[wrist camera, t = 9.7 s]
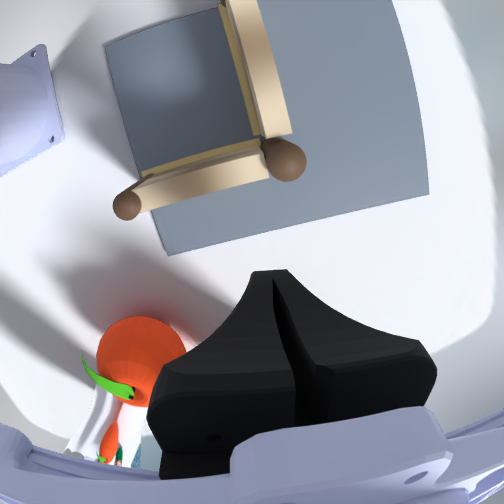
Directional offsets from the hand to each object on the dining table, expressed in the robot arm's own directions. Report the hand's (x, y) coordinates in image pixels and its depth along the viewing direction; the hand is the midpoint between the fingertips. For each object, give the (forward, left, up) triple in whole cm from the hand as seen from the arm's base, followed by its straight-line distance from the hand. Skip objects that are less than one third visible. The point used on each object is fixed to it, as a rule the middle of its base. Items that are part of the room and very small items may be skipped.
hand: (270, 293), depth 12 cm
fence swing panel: (+2, +10, -9) cm, 13 cm away
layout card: (+3, +7, -9) cm, 12 cm away
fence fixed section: (-2, +4, -9) cm, 10 cm away
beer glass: (-17, -14, -10) cm, 24 cm away
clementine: (-11, -7, -10) cm, 16 cm away
